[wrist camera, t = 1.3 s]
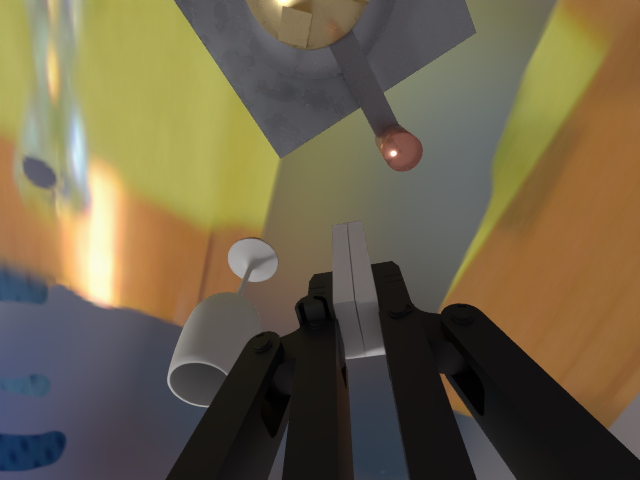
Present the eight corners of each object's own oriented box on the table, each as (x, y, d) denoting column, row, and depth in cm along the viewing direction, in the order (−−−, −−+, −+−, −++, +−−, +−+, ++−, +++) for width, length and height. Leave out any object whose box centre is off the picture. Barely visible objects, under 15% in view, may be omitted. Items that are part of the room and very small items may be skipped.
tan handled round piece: (221, -47, 28) (187, -83, 21) (329, -145, 25) (329, -222, 19) (352, 176, 37) (357, 199, 30) (444, 122, 34) (471, 135, 27)
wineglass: (285, 245, 45) (252, 365, 27) (272, 287, 49) (237, 420, 30) (231, 230, 45) (160, 343, 26) (223, 274, 48) (154, 403, 29)
